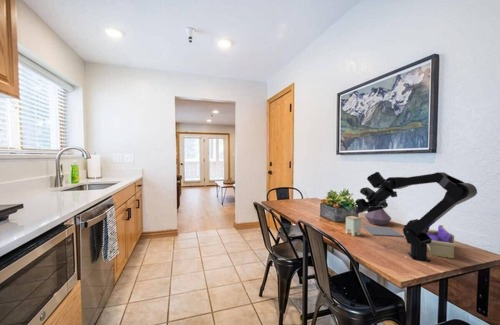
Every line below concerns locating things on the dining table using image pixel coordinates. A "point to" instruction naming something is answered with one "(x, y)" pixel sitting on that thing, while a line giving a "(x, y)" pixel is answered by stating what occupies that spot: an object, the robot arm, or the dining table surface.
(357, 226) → the stool
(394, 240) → the dining table surface
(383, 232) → the mat
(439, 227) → the toy sofa
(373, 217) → the flask
